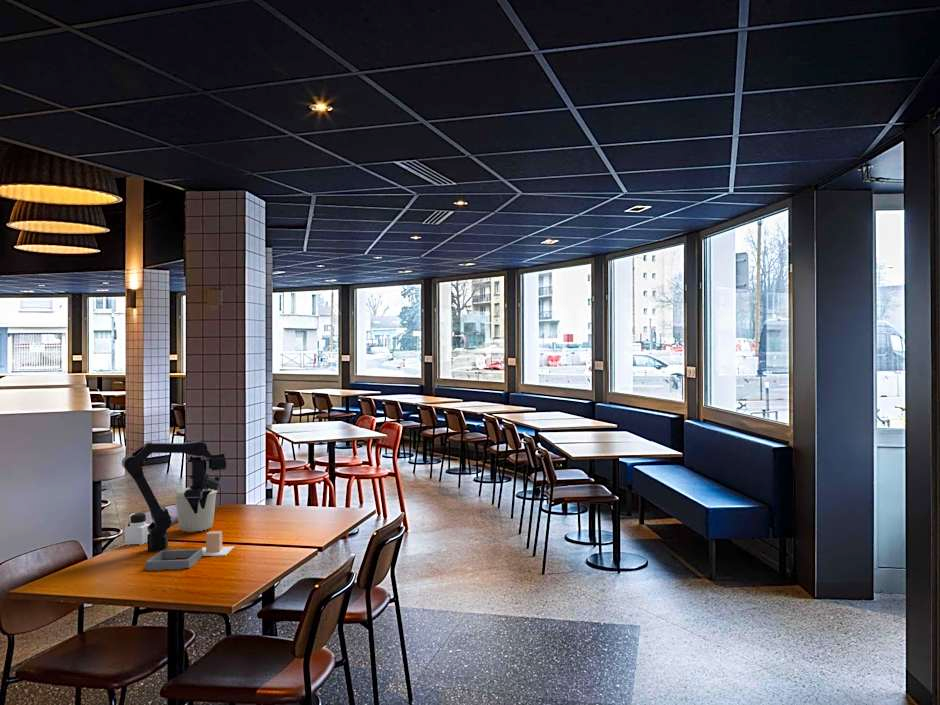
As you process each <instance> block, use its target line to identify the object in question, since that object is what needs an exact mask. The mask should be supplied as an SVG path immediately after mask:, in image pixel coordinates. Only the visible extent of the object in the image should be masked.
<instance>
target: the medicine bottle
mask: <svg viewBox="0 0 940 705" xmlns="http://www.w3.org/2000/svg"><path fill="white" fill-rule="evenodd" d="M128 518H129V526H125V527H124V545H125V546H130V545H129V544H139V545H138V546H143V545H144V543H145V544H148V543H147V535H148V534H150V533H149V532H148V529H147V527H148V526H149V525H150V524H151V523H147V515H146V513H144V512H135V513H134V512H133V513H131V514H130V515H129V517H128ZM126 544H127V545H126ZM142 544H143V545H142Z"/></svg>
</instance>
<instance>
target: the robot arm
mask: <svg viewBox="0 0 940 705" xmlns="http://www.w3.org/2000/svg"><path fill="white" fill-rule="evenodd" d="M163 453H164V454H184V455H185V454H186V455H189V457H188V458H187V459H185V461H186V462H187V463H190V465H191V466H190V467H191V468H190V471H191V474H190V475H189V479H191V484H192V485H191V484H190V486H189V487H190V489H188V490H186V491H185V492H184V497H186V499H187V501H188V502H189V504H190V506H191V508H192V510H193V511H194V513H195V514H196V513H198V507H199V503H200V505H201V508H202V509H204V508H205V505H206V501H207V497H208V494H209V493H210V492H211V491H212V489H213V490H215V491H217V490H220V488H221V486H222V484H223V482H222V479H221V477H220V476H214V478H213V477H210V476H209V475H210V474H209V473H207V469H209V471H211V472H214V471H216V472H217V471H225V470H226V468H227V460H226V456H225V453H223V452H221V453H216V454H215V453H214V454H212V453H211V452H210V451H209V449H208V445H207V444H206V443H205V442H203V441H200V440H191V441H186V442H182V443H181V442H180V443H179V442H176V443H175V442H174V443H173V442H165V443H164V442H151V441H150V442H149V441H147V442H145V443H144V444H143V446H142V445H141V447H140V448H138V449H137V450H135V451H134V452H133V453H132V454H128V455H126V456H124V458H123V459H122V461H121V465H122V468H123V469H124V470H125V471H126V472H127V474H129V476H130V477H131V478H132V480H133V481H134V483H135V485H136V486H137V488H138V491H139V493H140V494H141V496H142V498H143V500H144V502H145V504H146V505H147V507H148V509H149V513H150V516H151V520H152V522H151V523H149V524H150V525H149V526H148V527H147V529H148V532H149V533H150V534H148V535H147V543H146V544H147V549H146V550H145V552H160V551H163V550H167V548H169V536H167V531H168V529H170V527H171V525H172V519H173V517H172V516H171V515H170V513H169V510H168V508H167V507H166V506H164V507H161V505H160V503H159V502H158V500H157V498H156V496H155V494H154V492H153V490H152V489H151V487H150V485H149V482H148V481H147V479H146V477H145V474H144V470H143V465H142V464H143V462H145V461H146V460H147V459H148V457H149V456H150V455H152V454H163ZM201 457H204V458H201ZM209 489H210V490H209Z"/></svg>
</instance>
